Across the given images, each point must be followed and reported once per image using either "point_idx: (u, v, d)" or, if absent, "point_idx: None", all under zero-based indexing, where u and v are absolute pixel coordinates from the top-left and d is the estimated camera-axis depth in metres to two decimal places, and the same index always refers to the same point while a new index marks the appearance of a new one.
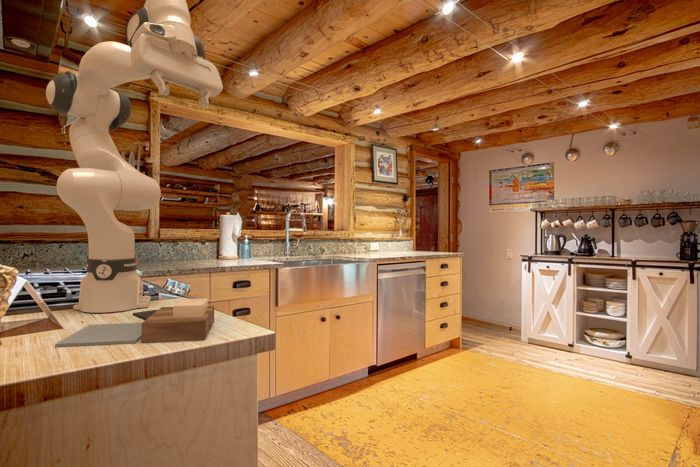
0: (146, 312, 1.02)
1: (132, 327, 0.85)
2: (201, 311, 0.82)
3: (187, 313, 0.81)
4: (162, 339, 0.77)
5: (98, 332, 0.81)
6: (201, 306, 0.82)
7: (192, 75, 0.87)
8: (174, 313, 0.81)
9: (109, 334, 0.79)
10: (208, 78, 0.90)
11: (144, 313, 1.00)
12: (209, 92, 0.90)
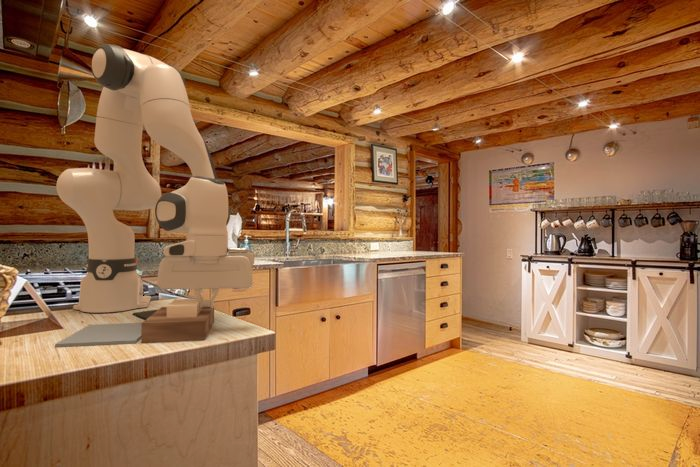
0: (146, 312, 1.02)
1: (132, 327, 0.85)
2: (195, 311, 0.82)
3: (181, 313, 0.81)
4: (162, 339, 0.77)
5: (98, 332, 0.81)
6: (195, 306, 0.82)
7: (214, 283, 0.85)
8: (168, 313, 0.81)
9: (109, 334, 0.79)
10: (233, 279, 0.86)
11: (144, 313, 1.00)
12: (215, 293, 0.86)
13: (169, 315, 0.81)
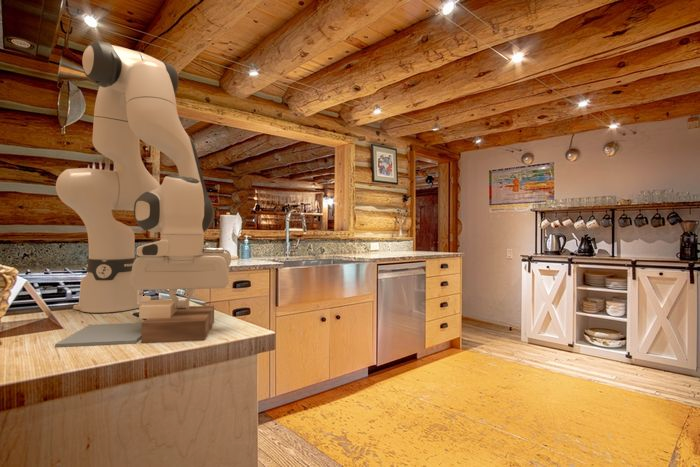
0: None
1: (132, 327, 0.85)
2: (168, 312, 0.80)
3: (154, 314, 0.80)
4: (162, 339, 0.77)
5: (98, 332, 0.81)
6: (168, 307, 0.80)
7: (189, 283, 0.84)
8: (140, 314, 0.79)
9: (109, 334, 0.79)
10: (209, 279, 0.85)
11: None
12: (191, 294, 0.85)
13: (142, 316, 0.79)
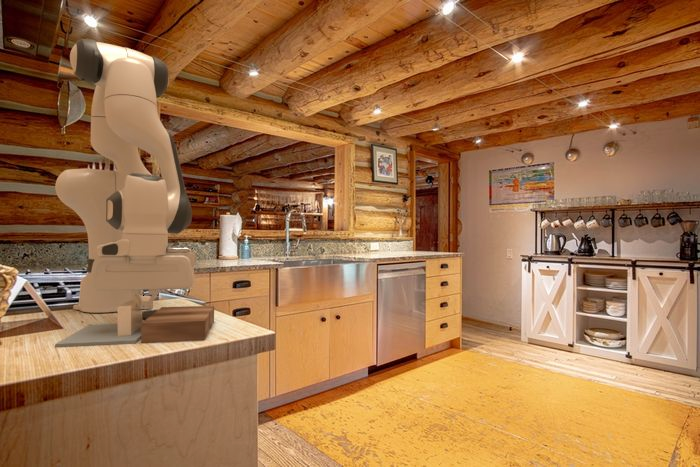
0: (146, 312, 1.02)
1: None
2: (124, 308, 0.78)
3: (126, 321, 0.79)
4: (162, 339, 0.77)
5: (98, 332, 0.81)
6: (118, 308, 0.78)
7: (151, 284, 0.82)
8: (126, 334, 0.79)
9: (109, 334, 0.79)
10: (172, 280, 0.83)
11: (144, 313, 1.00)
12: (153, 294, 0.83)
13: (128, 332, 0.79)
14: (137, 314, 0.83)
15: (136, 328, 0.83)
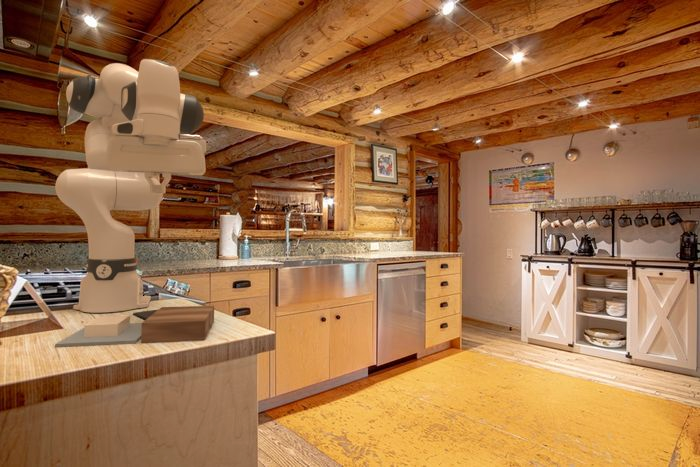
0: (146, 312, 1.02)
1: (132, 327, 0.85)
2: (86, 330, 0.77)
3: (101, 328, 0.77)
4: (162, 339, 0.77)
5: None
6: (86, 336, 0.77)
7: (164, 166, 0.85)
8: (116, 328, 0.78)
9: None
10: (184, 163, 0.86)
11: (144, 313, 1.00)
12: (166, 177, 0.86)
13: (114, 326, 0.78)
14: (107, 319, 0.82)
15: (121, 319, 0.82)
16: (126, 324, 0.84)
